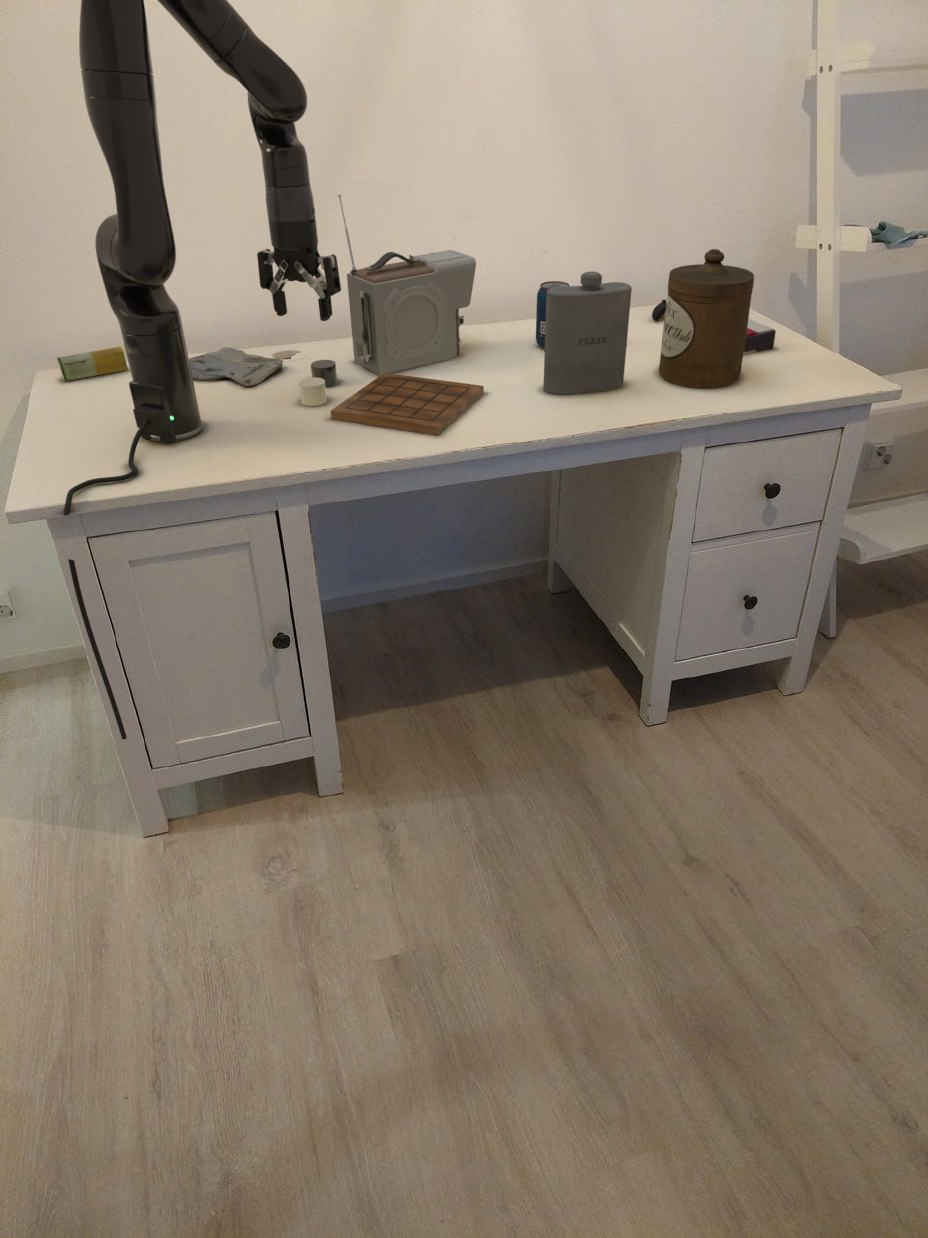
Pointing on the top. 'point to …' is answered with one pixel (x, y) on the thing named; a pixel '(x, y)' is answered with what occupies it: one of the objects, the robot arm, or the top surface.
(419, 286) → the portable television
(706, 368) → the wooden container
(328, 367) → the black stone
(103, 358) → the medication box
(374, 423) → the board
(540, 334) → the soda can
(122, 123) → the robot arm
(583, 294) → the flask
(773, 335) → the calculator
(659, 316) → the dark grey oval piece
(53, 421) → the top surface
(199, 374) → the fossil rock
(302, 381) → the ivory stone
